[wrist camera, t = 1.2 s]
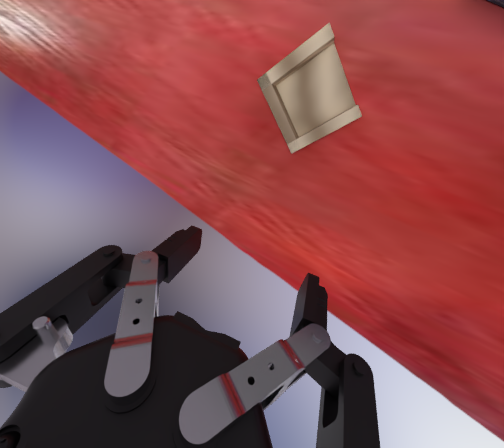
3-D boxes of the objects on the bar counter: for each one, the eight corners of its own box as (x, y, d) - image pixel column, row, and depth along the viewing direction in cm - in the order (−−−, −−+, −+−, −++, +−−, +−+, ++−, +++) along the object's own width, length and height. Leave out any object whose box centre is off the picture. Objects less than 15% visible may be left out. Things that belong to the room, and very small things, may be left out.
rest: (329, 32, 27) (329, 22, 24) (358, 115, 30) (361, 116, 27) (264, 82, 31) (257, 79, 28) (294, 149, 34) (291, 153, 31)
